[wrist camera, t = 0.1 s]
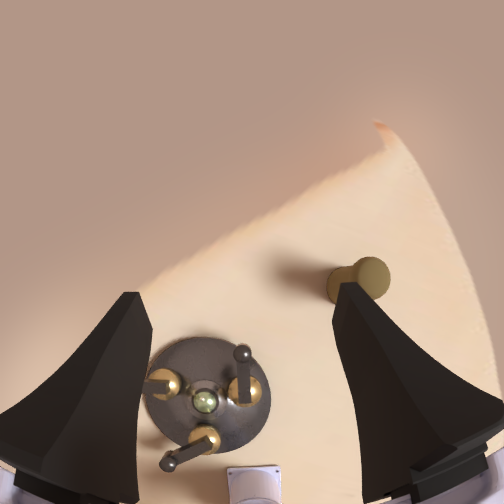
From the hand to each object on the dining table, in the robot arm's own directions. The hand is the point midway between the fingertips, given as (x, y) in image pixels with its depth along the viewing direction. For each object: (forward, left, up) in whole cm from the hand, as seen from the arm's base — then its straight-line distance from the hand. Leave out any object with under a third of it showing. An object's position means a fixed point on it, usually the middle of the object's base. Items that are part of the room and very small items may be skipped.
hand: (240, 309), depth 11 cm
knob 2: (-19, +9, -31) cm, 37 cm away
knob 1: (-9, +14, -31) cm, 35 cm away
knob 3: (-8, +1, -31) cm, 32 cm away
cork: (+3, -15, -32) cm, 36 cm away
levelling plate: (-12, +6, -32) cm, 35 cm away
